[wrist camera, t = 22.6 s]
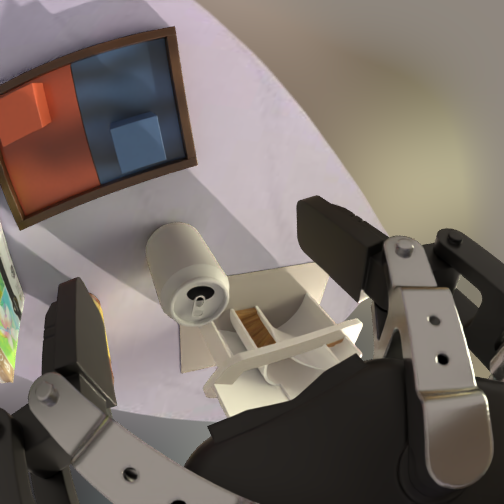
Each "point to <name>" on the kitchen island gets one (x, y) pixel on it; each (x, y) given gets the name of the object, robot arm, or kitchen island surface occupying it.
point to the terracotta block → (23, 112)
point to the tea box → (8, 312)
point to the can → (186, 275)
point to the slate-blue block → (137, 141)
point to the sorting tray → (95, 124)
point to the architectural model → (268, 339)
